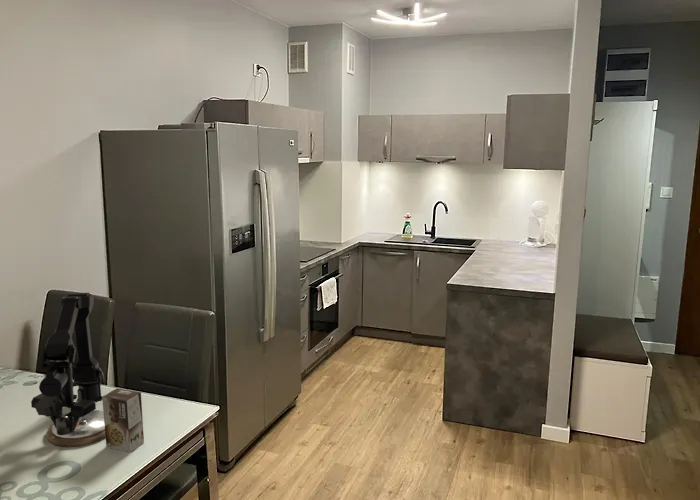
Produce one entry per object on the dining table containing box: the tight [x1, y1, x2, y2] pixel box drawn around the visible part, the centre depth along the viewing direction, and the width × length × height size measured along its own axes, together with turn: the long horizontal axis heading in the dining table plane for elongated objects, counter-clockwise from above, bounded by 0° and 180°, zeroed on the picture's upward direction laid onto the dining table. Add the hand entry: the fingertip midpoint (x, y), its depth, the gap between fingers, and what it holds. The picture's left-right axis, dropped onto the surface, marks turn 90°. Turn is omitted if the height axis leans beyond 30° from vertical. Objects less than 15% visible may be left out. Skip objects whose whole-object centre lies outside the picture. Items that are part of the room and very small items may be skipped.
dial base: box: [46, 423, 106, 448], centre depth 175 cm, size 20×20×2 cm
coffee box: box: [101, 387, 145, 453], centre depth 165 cm, size 9×6×16 cm
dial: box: [52, 409, 105, 440], centre depth 174 cm, size 17×17×6 cm
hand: (65, 430), depth 168 cm, fingers open, 5 cm apart
